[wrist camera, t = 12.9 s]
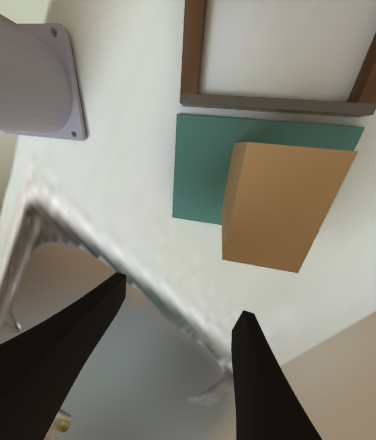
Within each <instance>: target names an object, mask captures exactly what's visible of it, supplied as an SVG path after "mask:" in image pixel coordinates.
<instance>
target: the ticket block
mask: <svg viewBox="0 0 376 440" xmlns="http://www.w3.org/2000/svg"><path fill="white" fill-rule="evenodd" d="M356 154H357V151H346V150H334V149H323V148H311V147H300V146H288V145H277V144H265V143H254V142H240V143H234V145H233V150H232V156H231V161H230V167H229V172H228V178H227V183H226V188H225V194H224V199H223V205H222V260H228V261H233V262H239V263H245V264H250V265H256V266H261V267H267V268H272V269H278V270H284V271H289V272H295V273H298V272H299V270H300V268H301V266H302V264H303V262H304V260H305V258H306V256H307V254H308V252H309V250H310V248H311V246H312V244H313V241H314V239H315V237H316V235H317V233H318V231H319V229H320V227H321V225H322V223H323V221H324V219H325V217H326V215H327V213H328V211H329V209H330V207H331V205H332V203H333V201H334V199H335V197H336V195H337V193H338V191H339V189H340V187H341V184H342V182H343V180H344V178H345V176H346V174H347V172H348V170H349V168H350V166H351V164H352V162H353V160H354V158H355V156H356Z"/></svg>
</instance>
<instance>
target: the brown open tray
mask: <svg viewBox="0 0 376 440" xmlns="http://www.w3.org/2000/svg"><path fill="white" fill-rule="evenodd" d="M206 5H207V0H185V12H184V32H183V52H182V72H181V92H180V103H181V104H182V105H183V106H190V107H206V108H221V109H237V110H253V111H268V112H284V113H299V114H315V115H331V116H346V117H364V116H369V115H373V114H374V112H375V110H376V34H375V37H374V39H373V41H372V44H371V46H370V49H369V51H368V53H367V56H366V58H365V61H364V63H363V65H362V68H361V70H360V73H359V75H358V77H357V80H356V82H355V85H354V87H353V89H352V92H351V94H350V97H349V99H348V101H347V102H334V101H315V100H297V99H278V98H260V97H241V96H222V95H204V94H199V83H200V72H201V61H202V49H203V38H204V27H205V16H206Z"/></svg>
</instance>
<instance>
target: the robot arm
mask: <svg viewBox="0 0 376 440" xmlns="http://www.w3.org/2000/svg"><path fill="white" fill-rule="evenodd" d="M56 31H57V36H55V33H56ZM0 130H2V131H3V132H5V133H9V134H19V135H29V136H39V137H50V138H60V139H70V140H80V141H83V140H85V139H86V133H85V127H84V121H83V115H82V109H81V103H80V97H79V91H78V85H77V79H76V73H75V67H74V61H73V55H72V50H71V44H70V38H69V33H68V31H67V29H66V28H65V27H64V26H62V25H61V24H16V23H14V22H12V21H11V20H9V19H8V18H6V17H4V16H2V15H1V14H0ZM75 133H76V136H75ZM125 294H126V275H124V274H121V273H118V272H117V273H115V274H113V275H112V276H111V277H109V278H108V279H107V280H105V281H104V282H103V283H101V284H100V285H99V286H97V287H96V288H94V289H93V290H92V291H90V292H89V293H87V294H86V295H84V296H83V297H82V298H80V299H79V300H77V301H76V302H74V303H72V304H71V305H69V306H68V307H66V308H65V309H63V310H62V311H60V312H58V313H57V314H55V315H53V316H52V317H50V318H48V319H47V320H45V321H43V322H41V323H40V324H38V325H36V326H34V327H33V328H31V329H29V330H27V331H25V332H24V333H21V334H20V335H18V336H16V337H14V338H12V339H10V340H8V341H6V342H4V343H2V344H0V440H44V438H45V436H46V434H47V432H48V430H49V428H50V426H51V424H52V422H53V421H54V419H55V417H56V415H57V413H58V411H59V409H60V407H61V406H62V404H63V402H64V400H65V398H66V396H67V394H68V393H69V391H70V389H71V387H72V385H73V383H74V382H75V379H76V378H77V376H78V374H79V373H80V371H81V369H82V367H83V366H84V364H85V362H86V361H87V359H88V357H89V356H90V354H91V353H92V351H93V350H94V348H95V347H96V345H97V344H98V342H99V341H100V339H101V337H102V336H103V334H104V333H105V331H106V330H107V328H108V327H109V325H110V323H111V322H112V321H113V319H114V318H115V316H116V314H117V313H118V311H119V309H120V307H121V305H122V303H123V301H124V299H125ZM231 352H232V366H233V379H234V391H235V404H236V430H237V431H236V433H237V434H236V435H237V437H236V440H322V439H321V437H320V436H319V434H318V432H317V431H316V429H315V427H314V426H313V424H312V423H311V421H310V419H309V418H308V416H307V414H306V413H305V411H304V409H303V408H302V406H301V404H300V403H299V401H298V399H297V397H296V396H295V394H294V392H293V390H292V388H291V387H290V385H289V383H288V381H287V379H286V378H285V376H284V374H283V372H282V370H281V368H280V366H279V364H278V362H277V360H276V358H275V356H274V354H273V352H272V350H271V348H270V346H269V344H268V342H267V340H266V338H265V336H264V334H263V332H262V330H261V327H260V325H259V323H258V321H257V319H256V317H255V315H254V313H251V312H247V311H244V310H243V312H242V314H241V315H240V317H239V319H238V321H237V323H236V324H235V326H234V328H233V330H232V347H231Z"/></svg>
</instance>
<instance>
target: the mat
mask: <svg viewBox="0 0 376 440" xmlns="http://www.w3.org/2000/svg"><path fill="white" fill-rule="evenodd" d="M364 128H365V127H352V126H338V125H323V124H309V123H295V122H281V121H267V120H253V119H239V118H224V117H210V116H196V115H182V114H177V124H176V147H175V169H174V191H173V214H172V217H173V218H180V219H186V220H193V221H199V222H206V223H212V224H219V225H222V205H223V199H224V194H225V188H226V183H227V178H228V172H229V167H230V161H231V156H232V150H233V145H234V143H240V142H254V143H265V144H277V145H288V146H300V147H311V148H323V149H334V150H346V151H354V149H355V147H356V145H357V143H358V141H359V139H360V137H361V134H362V132H363V130H364Z"/></svg>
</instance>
